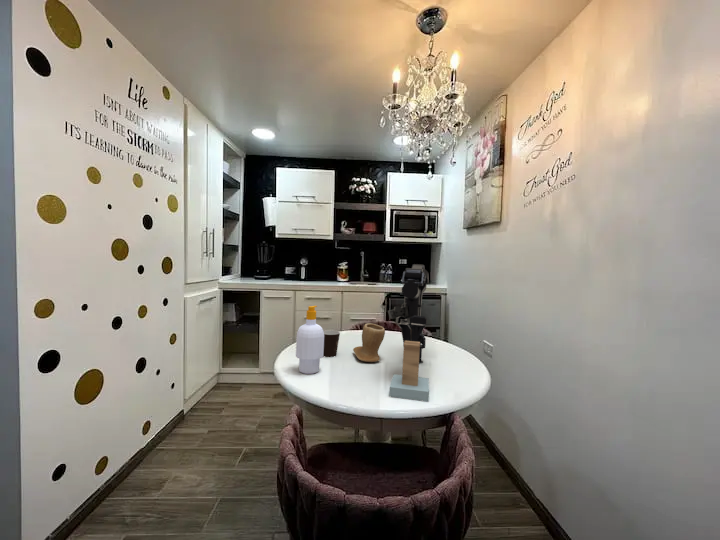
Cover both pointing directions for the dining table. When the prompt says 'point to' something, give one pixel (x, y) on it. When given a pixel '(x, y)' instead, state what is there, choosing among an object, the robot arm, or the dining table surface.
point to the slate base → (409, 389)
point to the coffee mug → (331, 342)
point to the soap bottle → (310, 344)
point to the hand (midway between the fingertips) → (408, 344)
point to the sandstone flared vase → (370, 343)
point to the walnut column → (410, 363)
